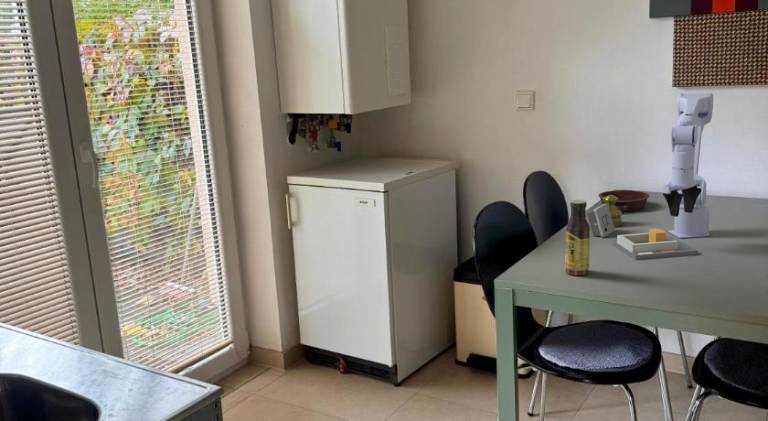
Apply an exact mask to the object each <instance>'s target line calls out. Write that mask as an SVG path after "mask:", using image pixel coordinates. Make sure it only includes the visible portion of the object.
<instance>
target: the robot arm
mask: <svg viewBox="0 0 768 421" xmlns="http://www.w3.org/2000/svg"><path fill="white" fill-rule="evenodd" d="M676 106H677V107H676V108H677V116H678V117H677V118H678V119H677V122H676V125H675V127H672V129H671V133H670V134H671V135H670V142H671V152H672V165H671V166H672V169H671V170H672V171H671V180H670V181H668V183H667V184H666V185H663V186H662V196H663V197H664V199H665V201H666V203H667V206H668V210H669V214H670V217H671V216H672V217H674V221H673V222H674V224H673V229H669V230H668V233H670V234H672V235H673V236H675V237H677V238H679V239H687V238H688V239H689V238H699V237H700V238H701V237H710V236H711V234H710V233H709V232H710V210H709V209H708V207H707V206H706V201H707V182H706V180H705V179H704V178H702V177H701V176H700V175H699V165H700V155H701V144H702V134H703V131H704V128H705V126H706V125H707V124H709V123H711V121H712V118H713V110H714V94H713V93H712V92H708V93H705V92H703V93H702V92H700V93H698V92H697V93H681V92H680V94H678V95H677V102H676Z"/></svg>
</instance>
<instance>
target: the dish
mask: <svg viewBox="0 0 768 421" xmlns="http://www.w3.org/2000/svg"><path fill="white" fill-rule="evenodd" d="M608 195H613V196H615V197H617V198H618V201H617V202H616V203H615V206H616V207H617V208H618V210H620V211H621V212H634V211H635V212H636V211H639V210H643V208H645V207H646V206H647V202H648V199H649V198H650V195H649V193H647V192H644V191H640V190H632V189H620V190H619V189H618V190H616V189H615V190H607V191H604V192H600V193H599V194H598V197H599V199H600V201H601V204H602V205H603V204H606V203H605V201H603V198H604V197H606V196H608Z"/></svg>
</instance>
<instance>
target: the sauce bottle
mask: <svg viewBox="0 0 768 421" xmlns="http://www.w3.org/2000/svg"><path fill="white" fill-rule="evenodd" d="M569 205H570V206H569V207H570V218H569V220H568V222H567V225H566V228H565V240H564V241H565V243H564V245H565V247H564V248H565V249H564V250H565V251H564V254H565V255H564V257H565V258H564V259H565V260H564V267H565V273H567V274H569V275H571V276H585V275H587V274H588V273H589V268H590V248H591V247H590V245H591V244H590V242H591V240H590V238H591V236H590V230H591V227H590V223H589V221H588V220H587V219H586V217H587V214H586V213H587V212H586V210H587V209H586V208H587V201H586V200H585V199H573V200H571V201H570V204H569Z"/></svg>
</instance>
